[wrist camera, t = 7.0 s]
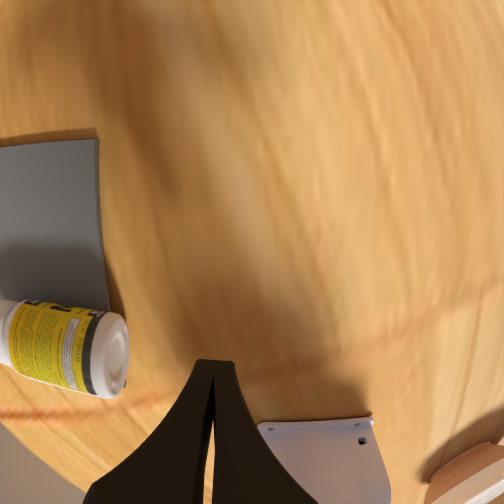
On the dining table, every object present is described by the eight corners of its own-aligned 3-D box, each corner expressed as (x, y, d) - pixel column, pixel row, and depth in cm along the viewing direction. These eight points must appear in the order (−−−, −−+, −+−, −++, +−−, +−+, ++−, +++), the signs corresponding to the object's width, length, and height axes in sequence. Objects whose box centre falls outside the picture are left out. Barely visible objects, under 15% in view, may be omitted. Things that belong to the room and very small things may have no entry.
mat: (98, 138, 14) (94, 139, 13) (126, 382, 20) (124, 387, 19) (-22, 150, 13) (-27, 152, 13) (25, 361, 19) (23, 364, 19)
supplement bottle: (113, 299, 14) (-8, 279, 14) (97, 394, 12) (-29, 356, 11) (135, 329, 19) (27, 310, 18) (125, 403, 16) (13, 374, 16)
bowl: (511, 413, 27) (536, 454, 19) (499, 452, 33) (515, 484, 25) (408, 474, 29) (425, 522, 22) (418, 498, 35) (429, 534, 28)
